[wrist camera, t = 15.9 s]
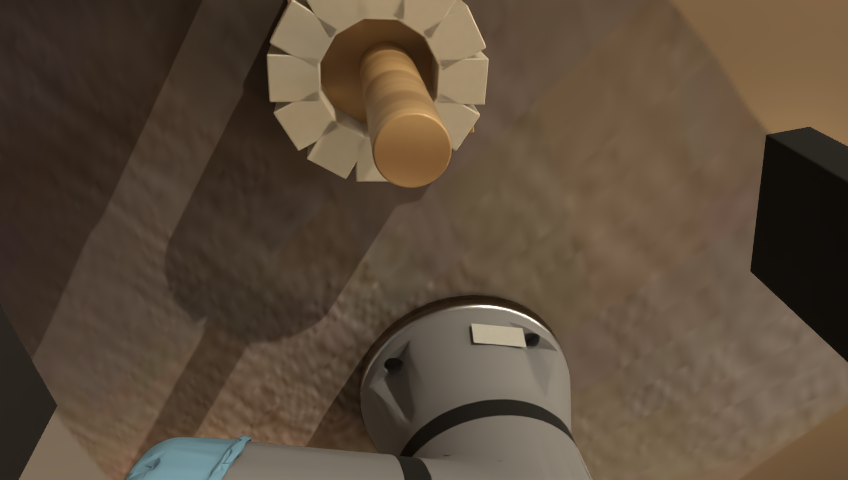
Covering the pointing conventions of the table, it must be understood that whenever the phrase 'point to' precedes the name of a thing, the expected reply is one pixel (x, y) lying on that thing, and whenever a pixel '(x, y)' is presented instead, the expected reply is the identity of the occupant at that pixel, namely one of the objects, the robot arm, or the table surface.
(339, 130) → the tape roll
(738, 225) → the table surface
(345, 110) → the post stand
